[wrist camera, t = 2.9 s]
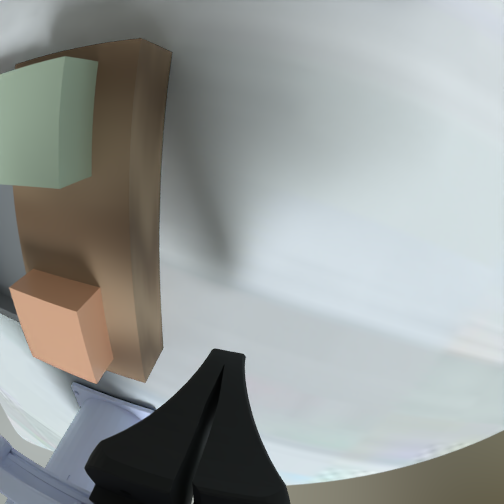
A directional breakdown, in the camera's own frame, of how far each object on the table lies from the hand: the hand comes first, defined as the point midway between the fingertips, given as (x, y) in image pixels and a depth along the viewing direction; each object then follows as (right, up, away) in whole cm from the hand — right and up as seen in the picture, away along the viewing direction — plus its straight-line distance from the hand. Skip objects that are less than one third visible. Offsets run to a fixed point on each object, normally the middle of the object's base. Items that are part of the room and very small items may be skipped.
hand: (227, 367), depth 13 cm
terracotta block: (-8, +2, +1) cm, 8 cm away
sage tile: (-7, +10, -3) cm, 13 cm away
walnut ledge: (-7, +7, +2) cm, 10 cm away
